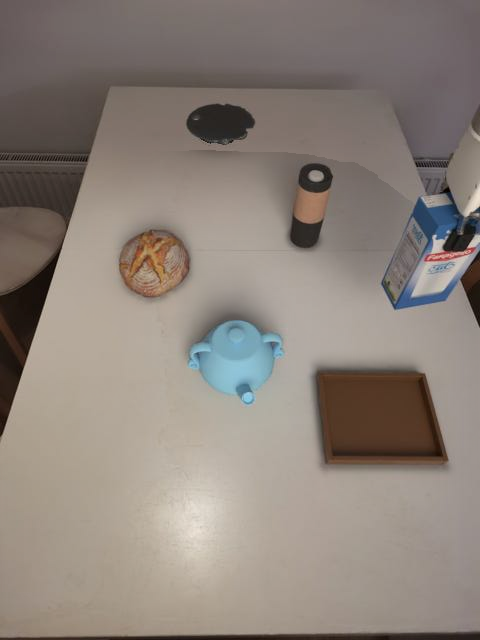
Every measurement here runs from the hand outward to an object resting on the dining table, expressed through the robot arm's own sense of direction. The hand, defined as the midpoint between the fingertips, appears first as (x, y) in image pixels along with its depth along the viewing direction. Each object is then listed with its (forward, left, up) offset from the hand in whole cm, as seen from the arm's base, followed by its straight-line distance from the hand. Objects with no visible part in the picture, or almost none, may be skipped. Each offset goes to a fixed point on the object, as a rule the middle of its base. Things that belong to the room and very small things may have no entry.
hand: (446, 230), depth 66 cm
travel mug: (+15, -32, -34) cm, 49 cm away
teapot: (+32, +8, -34) cm, 47 cm away
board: (+37, -77, -34) cm, 92 cm away
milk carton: (0, 0, -15) cm, 15 cm away
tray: (+5, +17, -34) cm, 38 cm away
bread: (+52, -21, -34) cm, 65 cm away
